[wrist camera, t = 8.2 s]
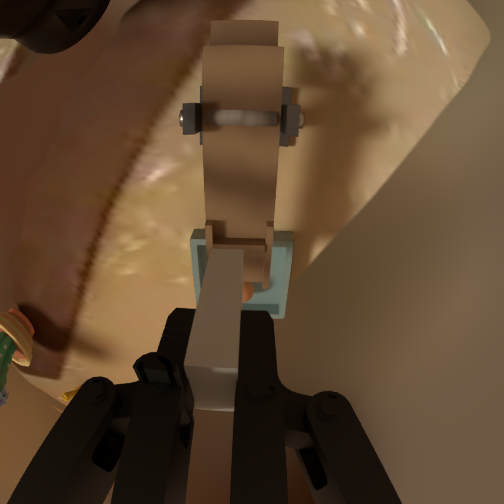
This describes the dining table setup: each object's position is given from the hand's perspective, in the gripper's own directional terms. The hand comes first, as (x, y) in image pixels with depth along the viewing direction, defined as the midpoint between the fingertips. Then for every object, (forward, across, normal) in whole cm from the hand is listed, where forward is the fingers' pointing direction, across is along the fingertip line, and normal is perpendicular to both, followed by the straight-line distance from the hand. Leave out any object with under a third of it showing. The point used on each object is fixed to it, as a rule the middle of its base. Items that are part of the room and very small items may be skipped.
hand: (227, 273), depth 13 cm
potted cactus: (+22, -54, -33) cm, 67 cm away
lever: (+15, 0, +3) cm, 15 cm away
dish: (+21, 0, -14) cm, 25 cm away
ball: (+19, 0, -16) cm, 25 cm away
